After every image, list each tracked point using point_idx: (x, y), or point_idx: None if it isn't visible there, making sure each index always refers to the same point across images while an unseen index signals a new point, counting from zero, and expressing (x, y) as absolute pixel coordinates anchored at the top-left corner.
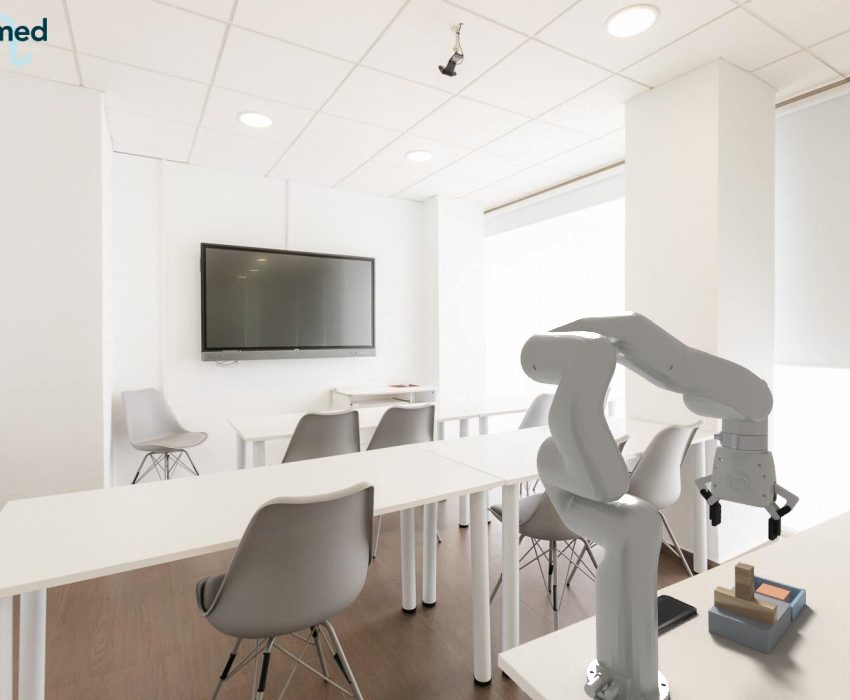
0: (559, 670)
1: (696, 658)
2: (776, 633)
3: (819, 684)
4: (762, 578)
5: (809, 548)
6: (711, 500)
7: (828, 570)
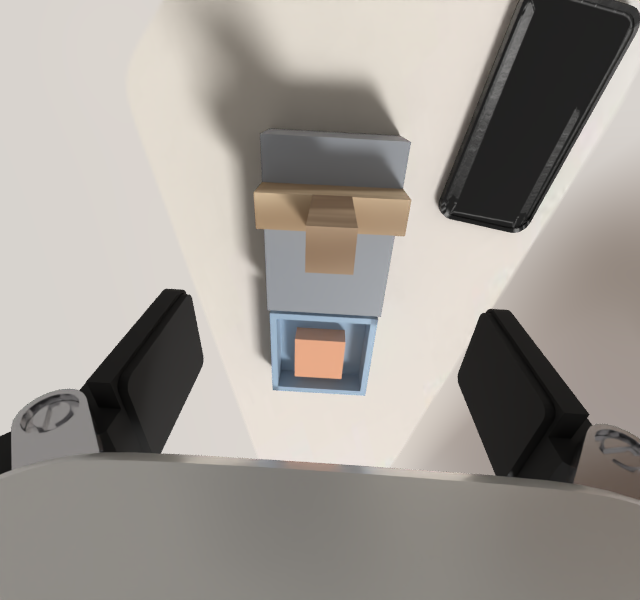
0: None
1: None
2: None
3: (157, 74)
4: (345, 391)
5: None
6: (625, 469)
7: None
